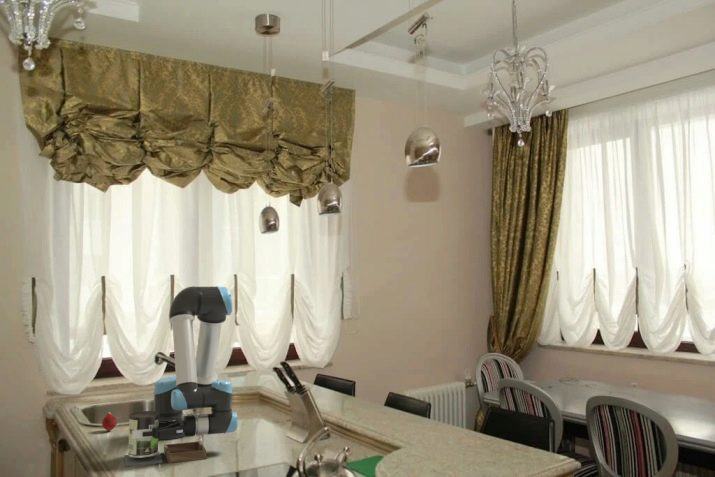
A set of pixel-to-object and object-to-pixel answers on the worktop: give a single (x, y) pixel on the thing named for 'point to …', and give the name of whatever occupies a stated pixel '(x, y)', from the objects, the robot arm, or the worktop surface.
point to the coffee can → (143, 445)
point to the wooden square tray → (184, 455)
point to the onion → (109, 422)
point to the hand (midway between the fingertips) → (131, 430)
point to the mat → (142, 460)
